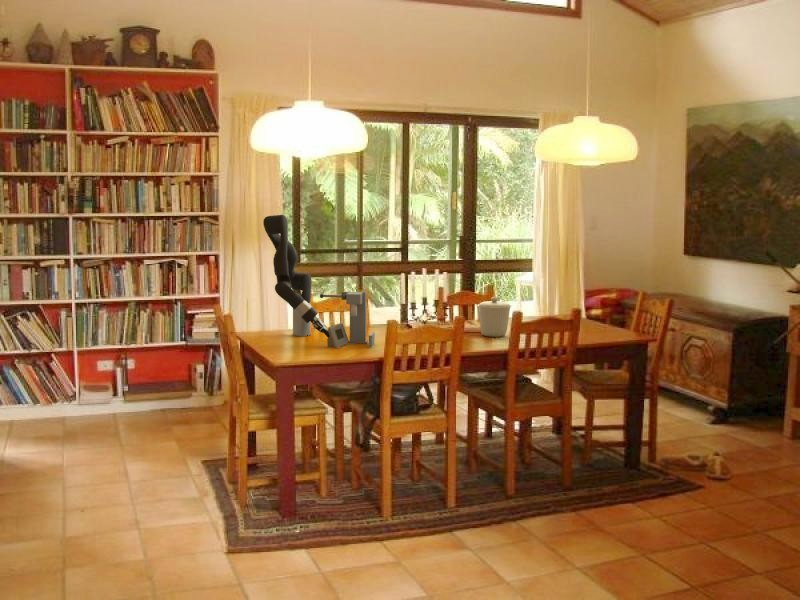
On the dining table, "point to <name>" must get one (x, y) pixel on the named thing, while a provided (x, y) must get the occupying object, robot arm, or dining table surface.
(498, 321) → the canister
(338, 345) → the digital clock
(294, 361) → the dining table surface
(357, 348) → the dining table surface
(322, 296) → the lever
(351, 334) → the press
